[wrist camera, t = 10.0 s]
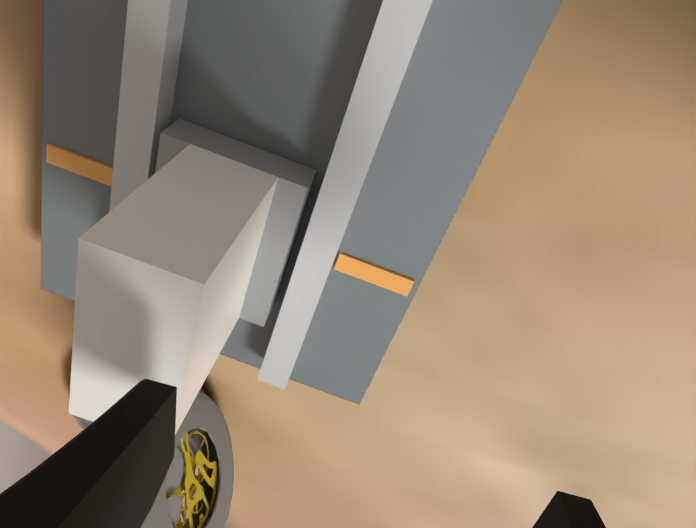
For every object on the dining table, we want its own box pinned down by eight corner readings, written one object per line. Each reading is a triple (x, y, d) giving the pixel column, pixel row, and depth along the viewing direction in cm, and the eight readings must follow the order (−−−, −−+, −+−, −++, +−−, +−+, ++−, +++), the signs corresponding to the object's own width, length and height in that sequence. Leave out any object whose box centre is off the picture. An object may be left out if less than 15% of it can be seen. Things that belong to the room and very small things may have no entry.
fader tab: (317, 170, 15) (245, 299, 10) (274, 303, 18) (200, 460, 13) (180, 118, 15) (35, 222, 10) (157, 261, 18) (35, 401, 13)
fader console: (830, -587, 9) (974, -783, 6) (366, 366, 22) (354, 425, 19) (131, -898, 9) (-3, -1236, 6) (73, 259, 21) (22, 305, 19)
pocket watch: (57, 393, 26) (-136, 623, 17) (147, 295, 22) (-48, 534, 13) (197, 487, 28) (86, 733, 19) (303, 414, 24) (220, 685, 15)
